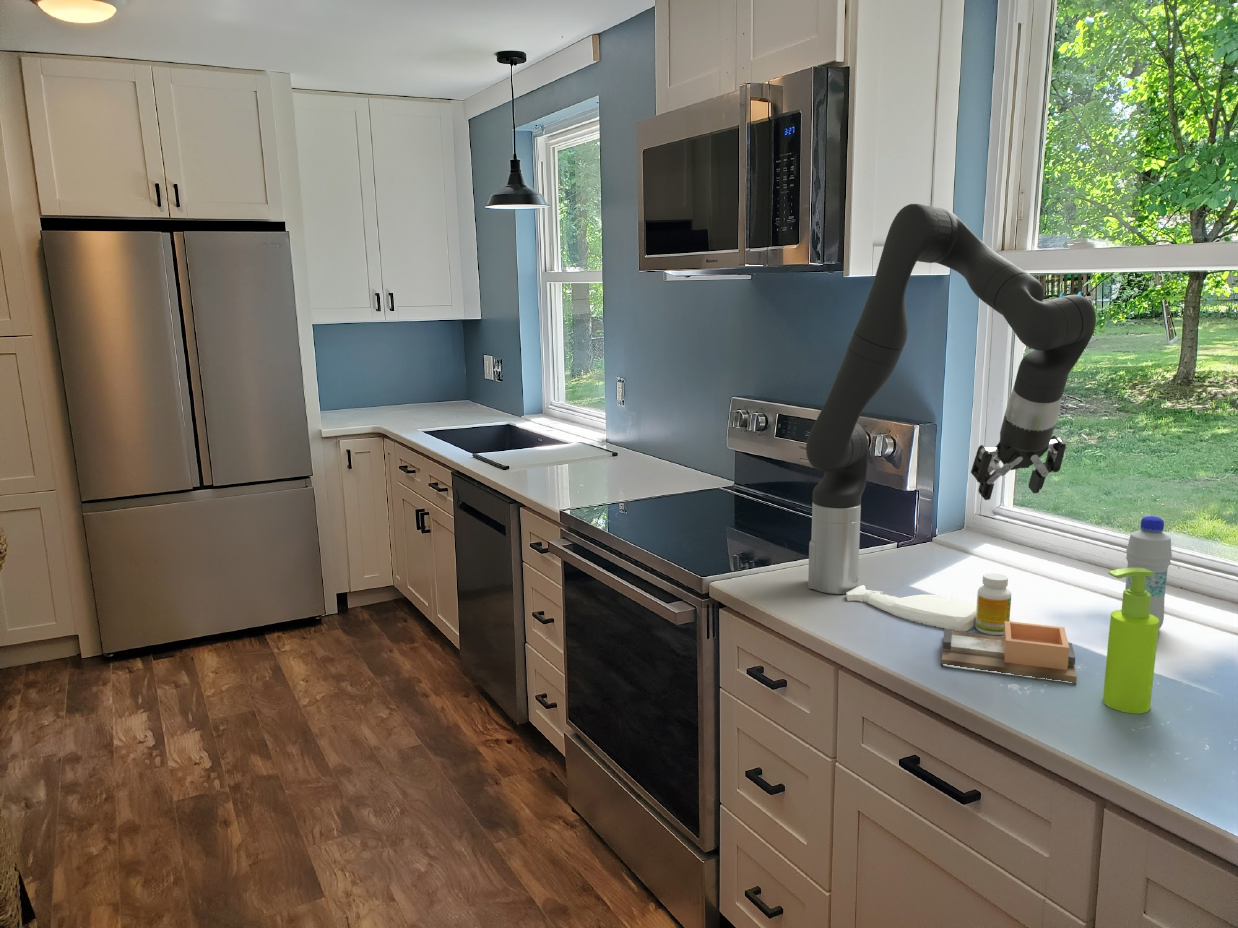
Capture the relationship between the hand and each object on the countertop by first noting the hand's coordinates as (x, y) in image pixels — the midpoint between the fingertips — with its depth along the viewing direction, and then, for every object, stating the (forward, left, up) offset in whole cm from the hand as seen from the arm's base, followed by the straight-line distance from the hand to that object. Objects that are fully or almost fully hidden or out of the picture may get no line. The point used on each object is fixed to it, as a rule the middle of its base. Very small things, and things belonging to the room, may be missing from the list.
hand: (1008, 493), depth 151 cm
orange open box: (+5, -14, -23) cm, 27 cm away
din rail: (+1, -14, -23) cm, 27 cm away
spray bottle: (-15, +5, -25) cm, 29 cm away
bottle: (+23, +8, -24) cm, 34 cm away
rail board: (+1, -14, -24) cm, 28 cm away
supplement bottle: (-1, -1, -24) cm, 24 cm away
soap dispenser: (+16, -25, -24) cm, 38 cm away
